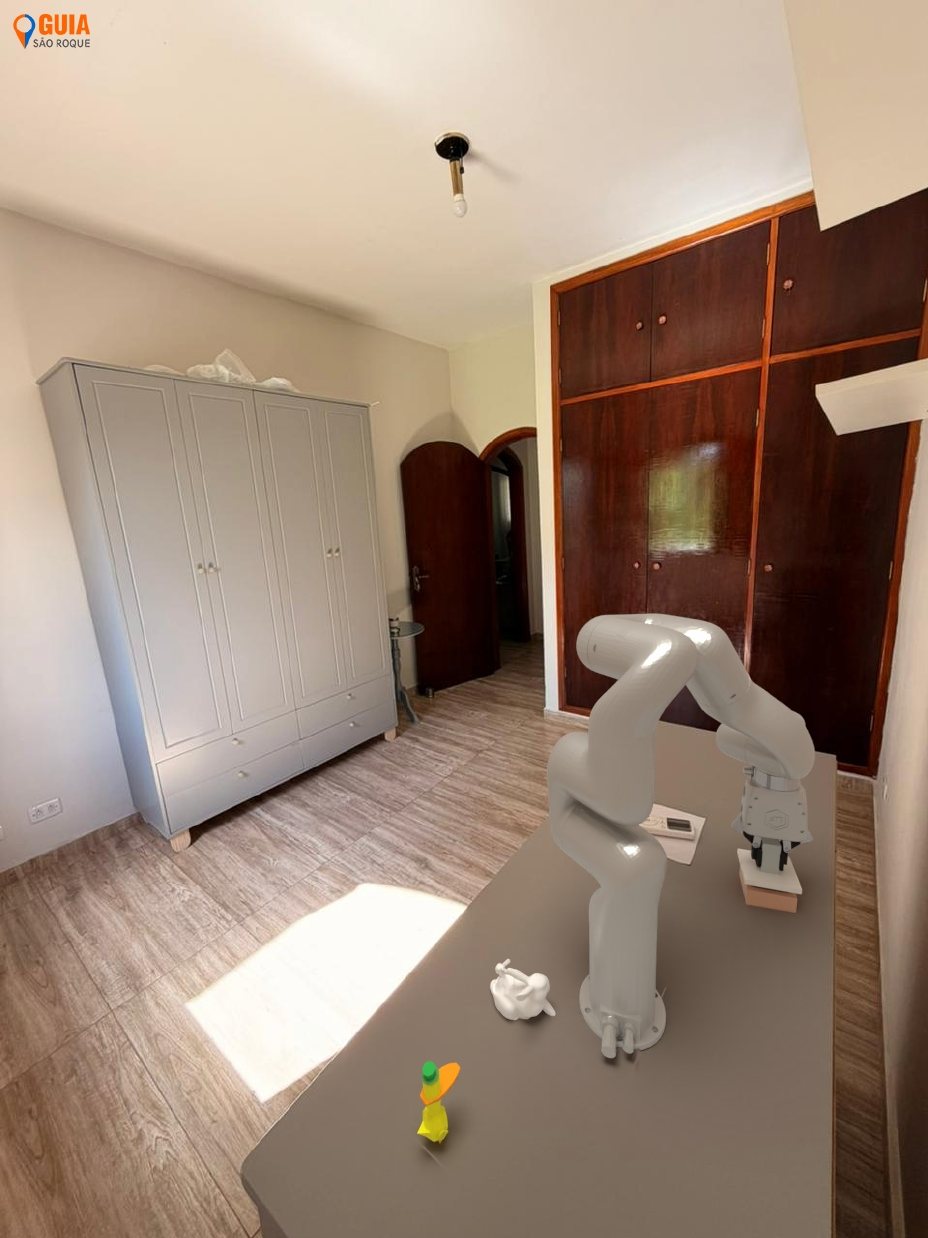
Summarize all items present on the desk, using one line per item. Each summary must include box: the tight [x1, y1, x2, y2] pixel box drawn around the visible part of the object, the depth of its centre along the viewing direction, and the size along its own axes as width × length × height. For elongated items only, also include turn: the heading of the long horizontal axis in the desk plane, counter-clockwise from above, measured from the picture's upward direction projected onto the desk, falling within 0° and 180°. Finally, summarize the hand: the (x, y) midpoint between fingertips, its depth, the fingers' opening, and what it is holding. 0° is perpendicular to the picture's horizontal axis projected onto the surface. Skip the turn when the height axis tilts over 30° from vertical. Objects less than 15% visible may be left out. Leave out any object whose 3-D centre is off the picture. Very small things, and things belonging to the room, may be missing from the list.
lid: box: [736, 837, 803, 895], centre depth 94 cm, size 9×9×7 cm
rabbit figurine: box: [489, 958, 556, 1021], centre depth 76 cm, size 12×8×10 cm, turn 53°
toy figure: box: [416, 1060, 461, 1144], centre depth 61 cm, size 7×4×12 cm, turn 130°
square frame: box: [738, 865, 798, 914], centre depth 96 cm, size 8×8×4 cm
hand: (768, 863), depth 94 cm, fingers closed on lid, 3 cm apart
